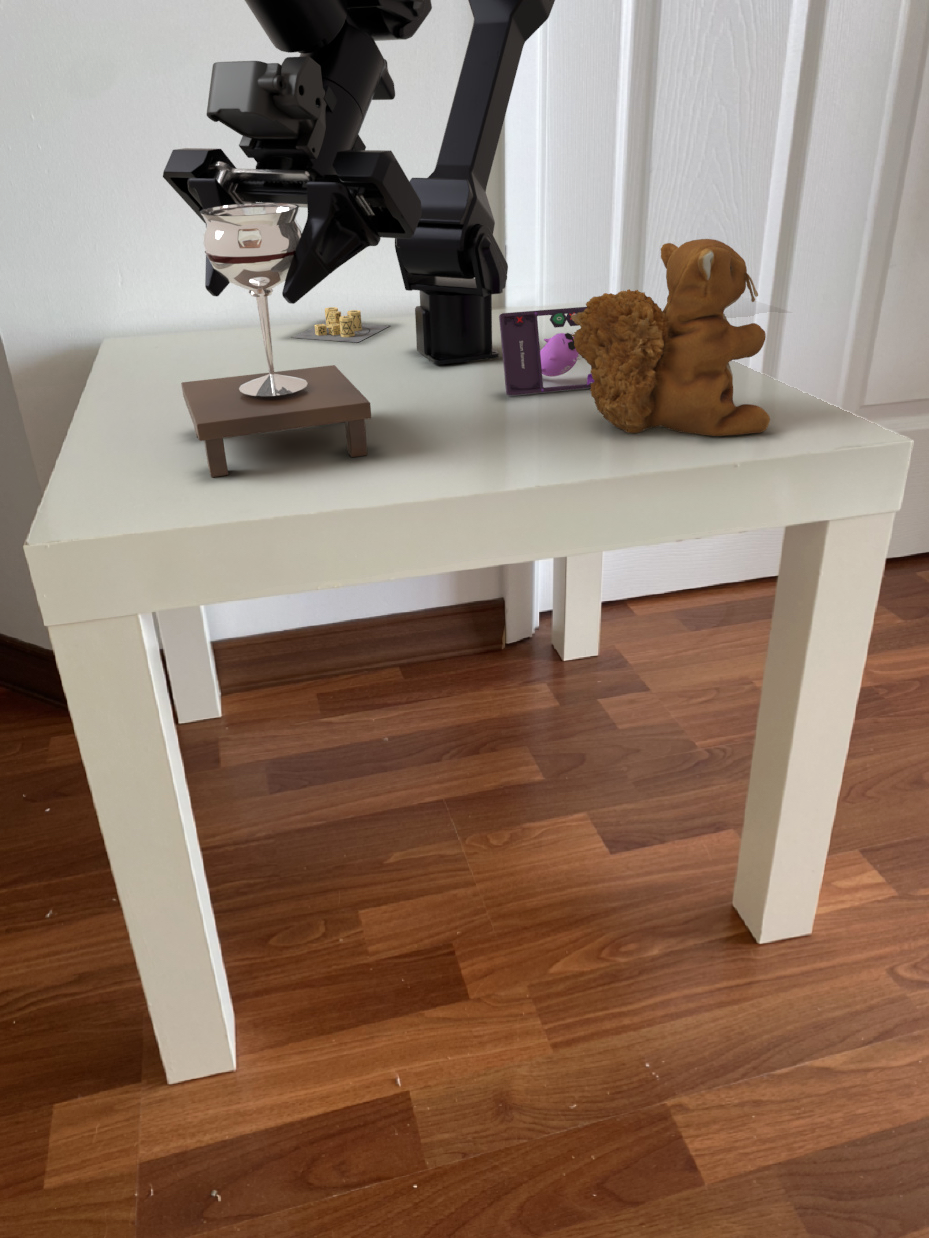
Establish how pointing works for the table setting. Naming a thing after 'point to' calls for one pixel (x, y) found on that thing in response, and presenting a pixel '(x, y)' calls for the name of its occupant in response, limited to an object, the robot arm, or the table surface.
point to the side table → (274, 410)
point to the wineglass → (255, 267)
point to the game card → (537, 351)
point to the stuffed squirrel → (674, 347)
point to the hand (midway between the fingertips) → (248, 296)
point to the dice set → (341, 327)
